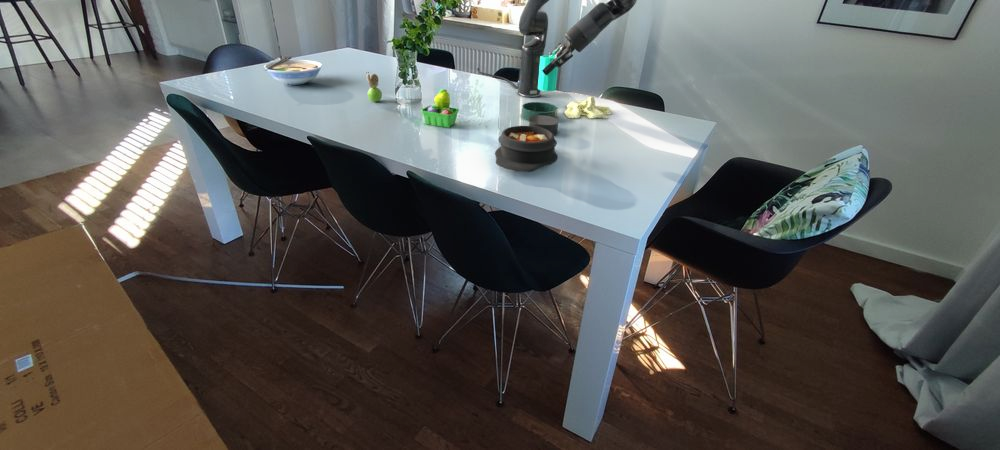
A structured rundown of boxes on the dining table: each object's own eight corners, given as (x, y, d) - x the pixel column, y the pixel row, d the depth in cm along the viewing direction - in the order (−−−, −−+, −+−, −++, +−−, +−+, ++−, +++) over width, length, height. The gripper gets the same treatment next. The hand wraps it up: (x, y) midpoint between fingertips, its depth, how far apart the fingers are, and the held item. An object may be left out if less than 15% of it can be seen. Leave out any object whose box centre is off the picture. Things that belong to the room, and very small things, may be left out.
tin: (515, 114, 181) (515, 104, 179) (543, 110, 187) (544, 100, 185) (534, 124, 171) (535, 114, 169) (563, 120, 177) (565, 110, 175)
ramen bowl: (312, 91, 194) (309, 71, 190) (256, 89, 194) (252, 68, 190) (332, 77, 216) (329, 58, 212) (281, 75, 216) (278, 56, 212)
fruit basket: (420, 124, 165) (419, 91, 159) (432, 117, 172) (431, 86, 167) (450, 129, 162) (450, 96, 156) (461, 122, 169) (461, 90, 164)
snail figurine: (363, 102, 185) (360, 70, 178) (373, 98, 190) (370, 67, 184) (375, 104, 183) (373, 72, 177) (385, 100, 188) (382, 69, 182)
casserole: (543, 182, 128) (546, 153, 124) (480, 170, 134) (481, 141, 129) (566, 152, 149) (570, 126, 144) (510, 142, 154) (512, 117, 150)
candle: (544, 92, 156) (547, 53, 150) (534, 87, 161) (537, 50, 155) (559, 90, 159) (563, 52, 153) (549, 86, 163) (552, 49, 157)
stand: (521, 128, 166) (522, 117, 164) (546, 124, 171) (547, 113, 169) (538, 138, 159) (539, 126, 157) (564, 134, 163) (565, 122, 161)
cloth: (572, 101, 199) (574, 87, 196) (616, 109, 193) (618, 94, 189) (554, 115, 181) (556, 99, 178) (601, 124, 175) (604, 107, 172)
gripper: (570, 21, 157) (532, 58, 161) (581, 27, 144) (538, 67, 149) (584, 38, 160) (546, 74, 165) (595, 46, 147) (553, 85, 152)
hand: (542, 71), depth 157 cm, fingers closed on candle, 5 cm apart
